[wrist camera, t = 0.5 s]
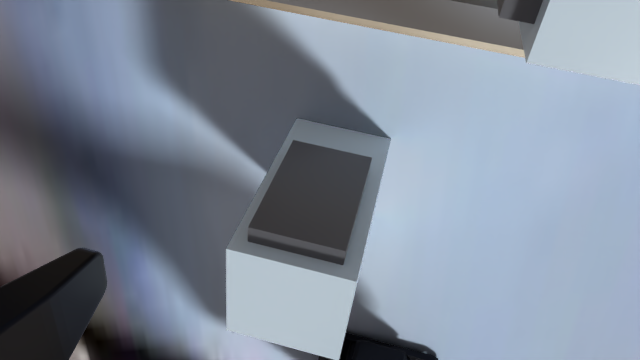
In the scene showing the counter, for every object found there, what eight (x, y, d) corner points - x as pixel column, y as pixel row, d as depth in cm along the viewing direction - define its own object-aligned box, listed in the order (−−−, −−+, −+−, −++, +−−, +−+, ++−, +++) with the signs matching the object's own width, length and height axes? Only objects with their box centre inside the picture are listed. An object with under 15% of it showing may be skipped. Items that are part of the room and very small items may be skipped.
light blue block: (374, 211, 24) (339, 360, 18) (289, 192, 24) (226, 330, 18) (393, 126, 21) (360, 267, 15) (298, 105, 22) (226, 234, 15)
